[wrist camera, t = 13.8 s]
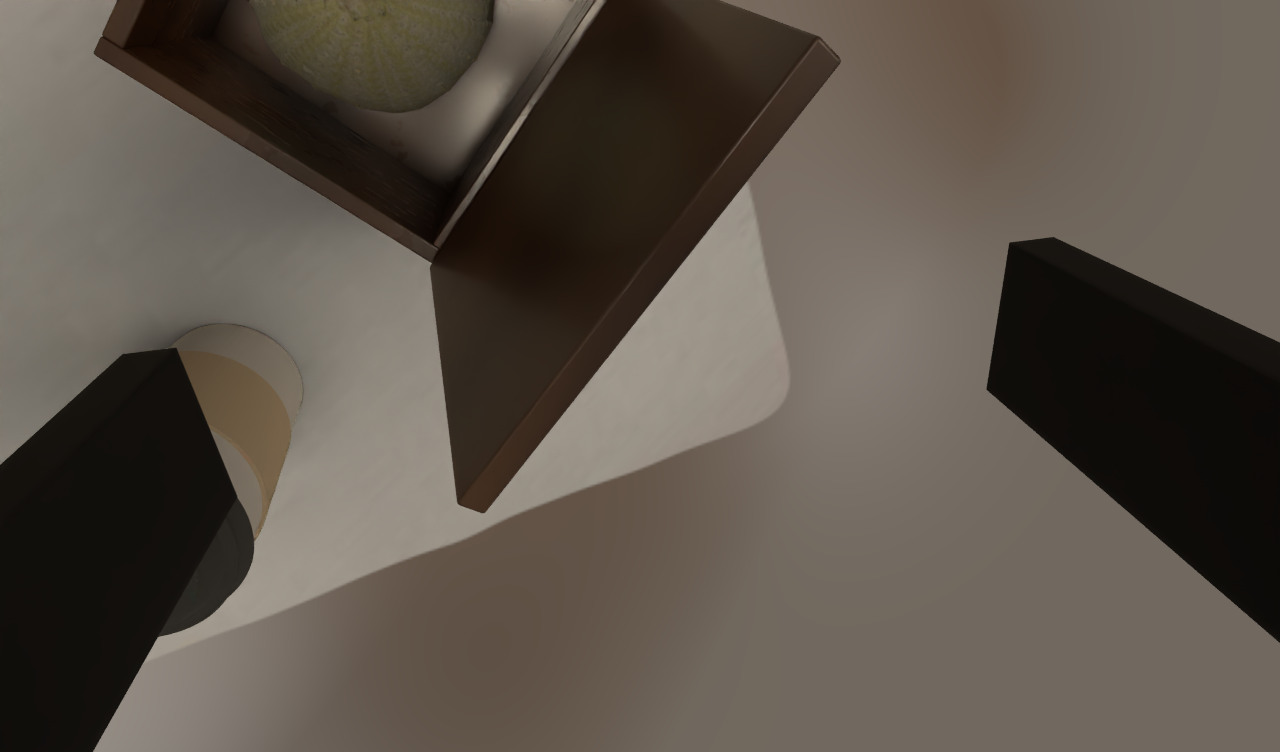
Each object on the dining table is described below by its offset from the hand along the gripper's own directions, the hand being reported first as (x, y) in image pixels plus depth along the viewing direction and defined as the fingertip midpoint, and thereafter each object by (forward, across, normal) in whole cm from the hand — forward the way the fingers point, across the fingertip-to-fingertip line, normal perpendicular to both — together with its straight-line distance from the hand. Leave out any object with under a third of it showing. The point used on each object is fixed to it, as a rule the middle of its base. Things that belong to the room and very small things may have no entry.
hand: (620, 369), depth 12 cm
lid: (+11, -1, 0) cm, 11 cm away
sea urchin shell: (+26, -7, +6) cm, 28 cm away
